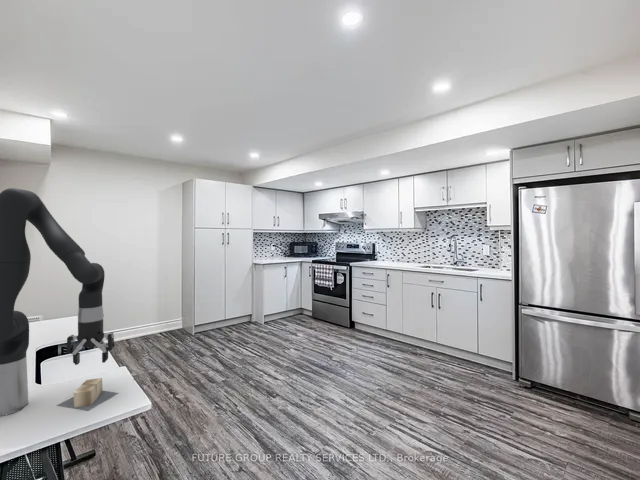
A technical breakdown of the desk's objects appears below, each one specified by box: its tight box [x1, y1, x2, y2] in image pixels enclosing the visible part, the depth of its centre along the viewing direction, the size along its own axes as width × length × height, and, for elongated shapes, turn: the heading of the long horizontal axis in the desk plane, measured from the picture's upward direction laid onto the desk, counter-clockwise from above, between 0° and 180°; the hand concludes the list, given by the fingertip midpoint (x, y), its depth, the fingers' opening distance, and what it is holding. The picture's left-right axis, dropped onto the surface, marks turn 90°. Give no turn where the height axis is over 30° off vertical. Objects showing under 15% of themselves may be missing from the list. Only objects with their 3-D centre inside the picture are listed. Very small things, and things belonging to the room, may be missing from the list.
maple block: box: [73, 377, 104, 407], centre depth 115 cm, size 5×5×10 cm
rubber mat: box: [56, 390, 119, 412], centre depth 115 cm, size 14×12×1 cm
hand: (91, 362), depth 117 cm, fingers open, 8 cm apart
